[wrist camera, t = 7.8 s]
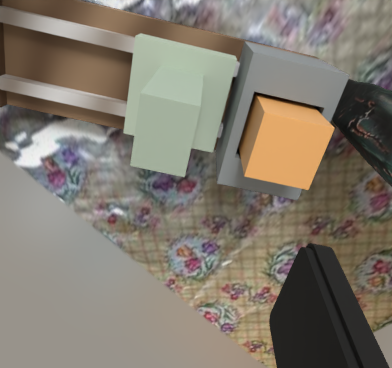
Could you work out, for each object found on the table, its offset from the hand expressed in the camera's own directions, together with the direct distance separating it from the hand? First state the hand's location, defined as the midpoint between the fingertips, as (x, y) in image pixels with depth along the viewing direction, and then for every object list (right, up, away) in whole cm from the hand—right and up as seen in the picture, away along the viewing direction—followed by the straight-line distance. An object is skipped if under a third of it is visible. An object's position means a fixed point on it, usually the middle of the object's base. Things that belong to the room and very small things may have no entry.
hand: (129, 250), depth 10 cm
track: (-2, +11, +19) cm, 22 cm away
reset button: (+7, +6, +15) cm, 17 cm away
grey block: (+7, +8, +19) cm, 22 cm away
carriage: (+1, +9, +17) cm, 19 cm away
